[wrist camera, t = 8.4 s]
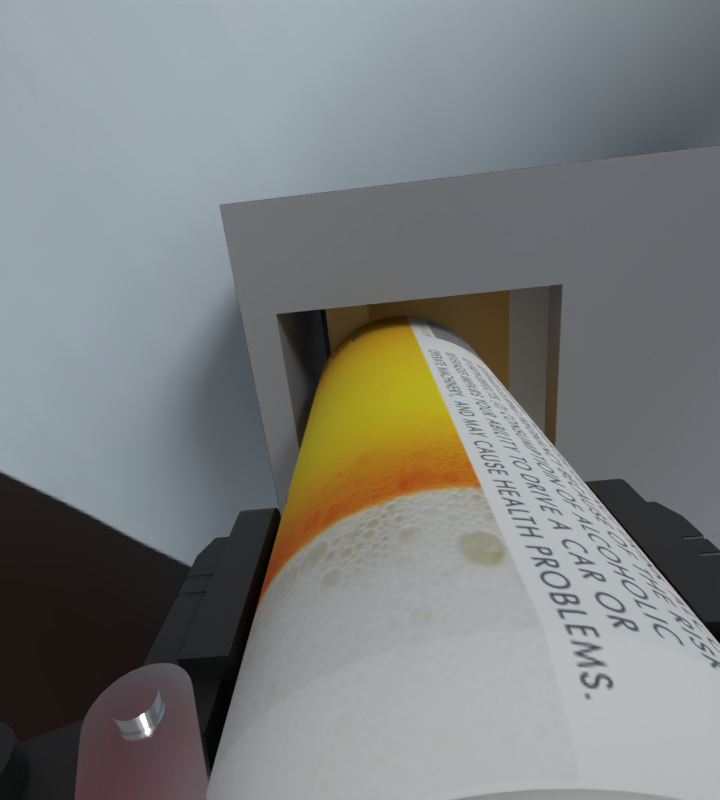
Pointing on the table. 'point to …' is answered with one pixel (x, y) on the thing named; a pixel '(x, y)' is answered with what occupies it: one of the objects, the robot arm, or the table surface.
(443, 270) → the box
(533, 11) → the table surface
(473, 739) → the beer can
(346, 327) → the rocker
